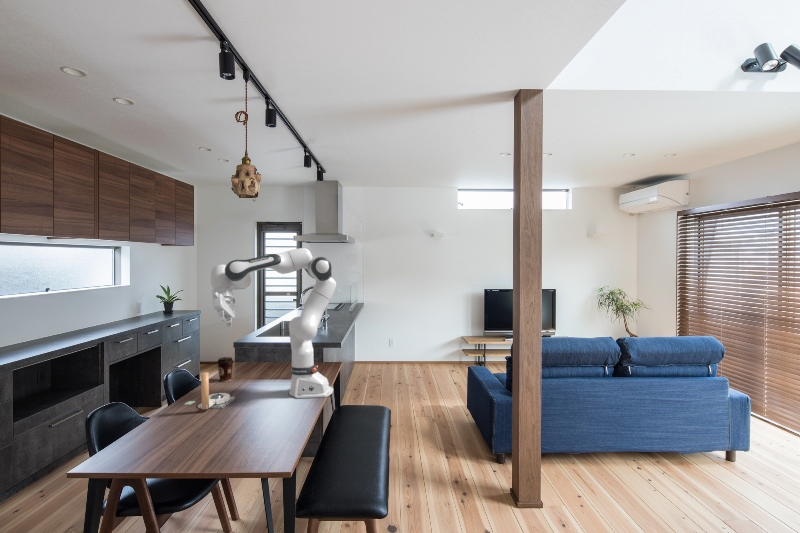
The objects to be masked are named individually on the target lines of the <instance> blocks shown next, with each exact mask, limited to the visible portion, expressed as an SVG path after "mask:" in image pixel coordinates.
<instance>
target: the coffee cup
mask: <svg viewBox="0 0 800 533" xmlns="http://www.w3.org/2000/svg"><path fill="white" fill-rule="evenodd" d="M216 363H217V368H218V370H217V371H218V377H219V382H225V383H226V382H230V381H232V377H233V367H234V359H233V357H231V356H230V357H227V356H224V357H220V358H218V359H217V361H216Z"/></svg>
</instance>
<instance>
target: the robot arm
mask: <svg viewBox="0 0 800 533" xmlns="http://www.w3.org/2000/svg"><path fill="white" fill-rule="evenodd" d="M264 269H265V270H266V269H272V270H274V271H275V272H276V273H278V274H282V275H285V274H289V273H293V272H296V271H299V270H303V269H304V270H305V272H306V273H307V274H308V276H310V277H311V278H312V279H314V280H315V284H314V287H313V288H312V289H311V292H309V295H308V296H307V298H306V300H305V301H304V304H303V308H302V311H301V313H300V316H299V315H298V316H295V317H293V318H292V319H291V320H290V321H289V322H288V330H289V331H288V332H289V333H288V334H289V340H290V342H289V343H290V347H291V348H290V349H291V366H290V377H291V381H290V389H289V392H288V394H289V396H291V397H294V398H295V399H309V398H311V399H315V398H326V397H329V396H331V394H333V392H334V387H332V386H330V385H329V379H328V378H327V377H325V376H324V375H323V374H321V373H320V372H319V371H318V367H319V365H316V364H315V362H314V360H315V359H314V357H315V356H314V355H315V354H314V350H315V349H314V347H313V346H314V345H313V342H312V340H313V339H314V338H315V337H316V336H317V333H318V329H319V326H320V323H321V320H322V316H324V315H323V314H324V312H325V311H326V310H327V306H328V305H329V303H330V302H331V299H332V298H333V295H334V294H335V291H336V288H337V282H336V280H335V279H334V278H333V277H332V269H333V268H332V263H331V261H330V260H329V259H328V258H326V257H325V256H318V257H314V256H313V255H312V252H311V251H310V250H309V249H308V248H305V247H300V248H295V249H290V250H287V251H284V252H280V253H270V254H266V255H262V256H257V257H253V258H248V259H234V260H231V261H229V262H228V263H227V264H217V265H215V266H214V267H212V269H211V271H210V284H211V287H212V289H211V293H212V305H213V310H215V311H216V312H217V314H218V317H219V321H220V322H224V321H226V326H227V327H228V328H230V327H232V326H233V325H232V323H233V322H232V321H233V320H235V318H236V308H235V304H236V300H235V298H234V294H233V290H235V291H237V290H245V289H246V288H248V287H249V286H250V285H251V282H252V278H251V273H252V272H257V271H261V270H264Z"/></svg>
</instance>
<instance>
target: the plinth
mask: <svg viewBox="0 0 800 533" xmlns="http://www.w3.org/2000/svg"><path fill="white" fill-rule="evenodd" d="M213 394H214V395H212V399H218V398H222V394H216V393H213ZM233 400H234V401H235V400H236V397H235V396H230V400H228V401H227V402H225V403H220V404H215V405H212V406H211V407H209V408H208V409H224V408H225V407H226V405H227V406H228V405H230V404H231V403H232V402H234V401H233ZM201 405H202V402H201V403H200V404H198V405H197V408H198V409H201Z"/></svg>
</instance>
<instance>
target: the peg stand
mask: <svg viewBox="0 0 800 533" xmlns="http://www.w3.org/2000/svg"><path fill="white" fill-rule="evenodd" d="M200 376H201V378H200V379H201V380H200V381H201V382H200V383H201V387H200V388H201V403H202V405H201V408H200V409H201V410H208V409H210V408H209V407H211V406H212V405H215V404H220V403H225V402H227V401H228V400H230V397H231V395H230V394H229V393H228V392H219V393H212V394H210V388H209V387H210V385H209V384H210V381H209V379H210V377H209V376H210V374H209V371H207V372H201V373H200ZM214 394H222V398H218V399H212V395H214Z"/></svg>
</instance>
